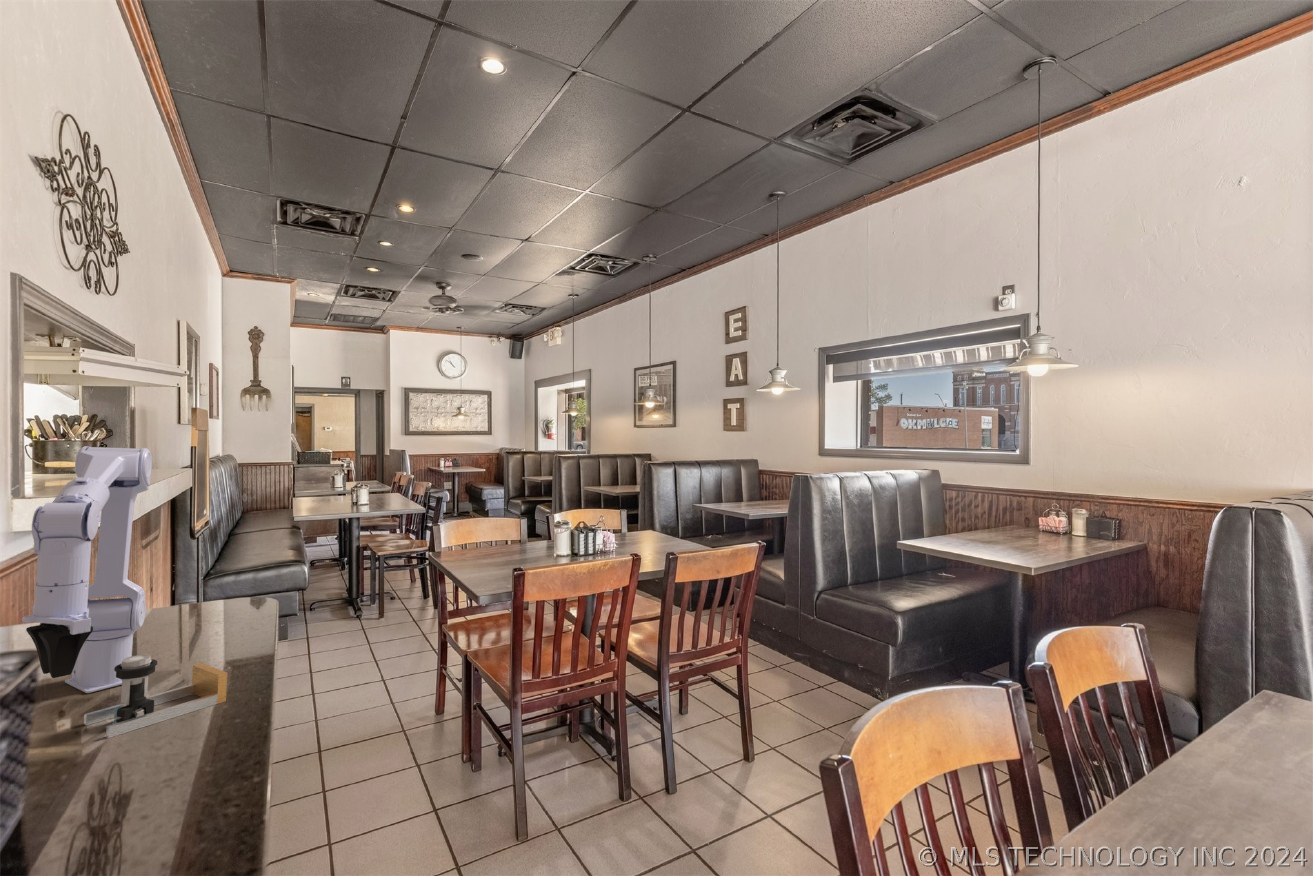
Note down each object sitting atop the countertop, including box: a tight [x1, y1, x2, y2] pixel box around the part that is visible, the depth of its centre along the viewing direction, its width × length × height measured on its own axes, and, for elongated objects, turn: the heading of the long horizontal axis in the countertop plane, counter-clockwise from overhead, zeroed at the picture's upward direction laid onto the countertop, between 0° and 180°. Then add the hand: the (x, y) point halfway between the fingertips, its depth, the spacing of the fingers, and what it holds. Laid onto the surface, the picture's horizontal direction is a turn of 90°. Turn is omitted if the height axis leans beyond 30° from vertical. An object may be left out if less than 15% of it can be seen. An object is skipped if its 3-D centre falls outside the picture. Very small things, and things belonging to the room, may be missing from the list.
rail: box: [83, 662, 228, 739], centre depth 102 cm, size 9×16×5 cm, turn 152°
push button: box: [105, 654, 158, 729], centre depth 98 cm, size 7×5×10 cm
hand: (57, 673), depth 90 cm, fingers open, 2 cm apart
